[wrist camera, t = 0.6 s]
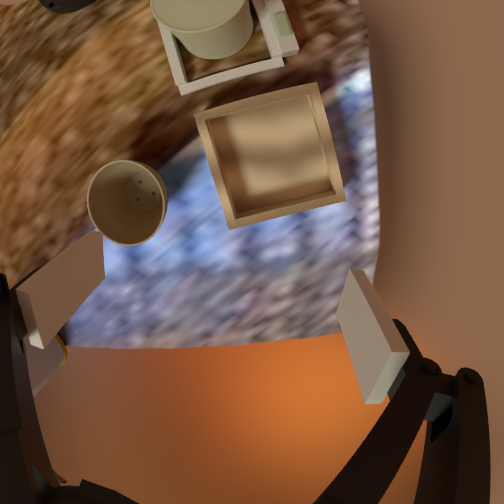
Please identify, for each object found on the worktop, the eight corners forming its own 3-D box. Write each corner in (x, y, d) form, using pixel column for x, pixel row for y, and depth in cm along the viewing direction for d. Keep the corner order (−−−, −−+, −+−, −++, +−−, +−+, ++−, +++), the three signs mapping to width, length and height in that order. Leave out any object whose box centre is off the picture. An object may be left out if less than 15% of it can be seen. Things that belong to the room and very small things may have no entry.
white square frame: (154, -1, 29) (146, -9, 26) (264, -33, 27) (264, -44, 24) (182, 95, 35) (175, 92, 32) (300, 63, 32) (303, 57, 30)
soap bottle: (18, 329, 51) (-52, 408, 26) (41, 310, 48) (-42, 401, 24) (51, 369, 54) (-6, 455, 30) (78, 355, 51) (13, 456, 27)
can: (258, 53, 32) (255, 21, 21) (184, 66, 33) (151, 42, 22) (248, -8, 29) (241, -53, 18) (176, 6, 30) (145, -32, 19)
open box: (200, 115, 35) (193, 114, 32) (311, 86, 34) (316, 81, 30) (232, 220, 40) (229, 229, 37) (338, 194, 38) (346, 200, 35)
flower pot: (102, 205, 40) (76, 219, 34) (131, 141, 37) (106, 144, 30) (160, 240, 42) (142, 261, 35) (195, 177, 38) (180, 187, 32)
